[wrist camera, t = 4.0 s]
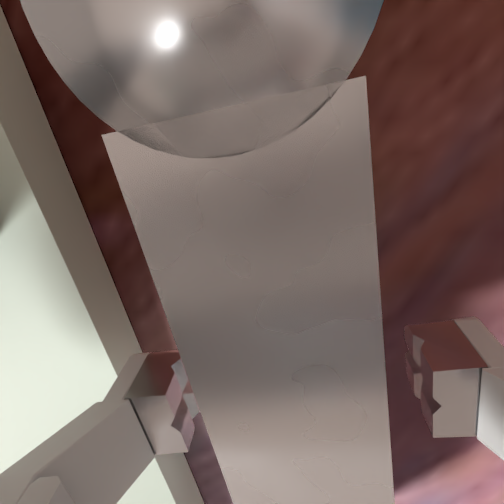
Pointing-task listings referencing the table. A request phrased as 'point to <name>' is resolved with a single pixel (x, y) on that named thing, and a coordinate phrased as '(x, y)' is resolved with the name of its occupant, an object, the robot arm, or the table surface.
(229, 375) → the grey dumbbell
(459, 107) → the table surface
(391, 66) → the table surface
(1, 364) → the board
